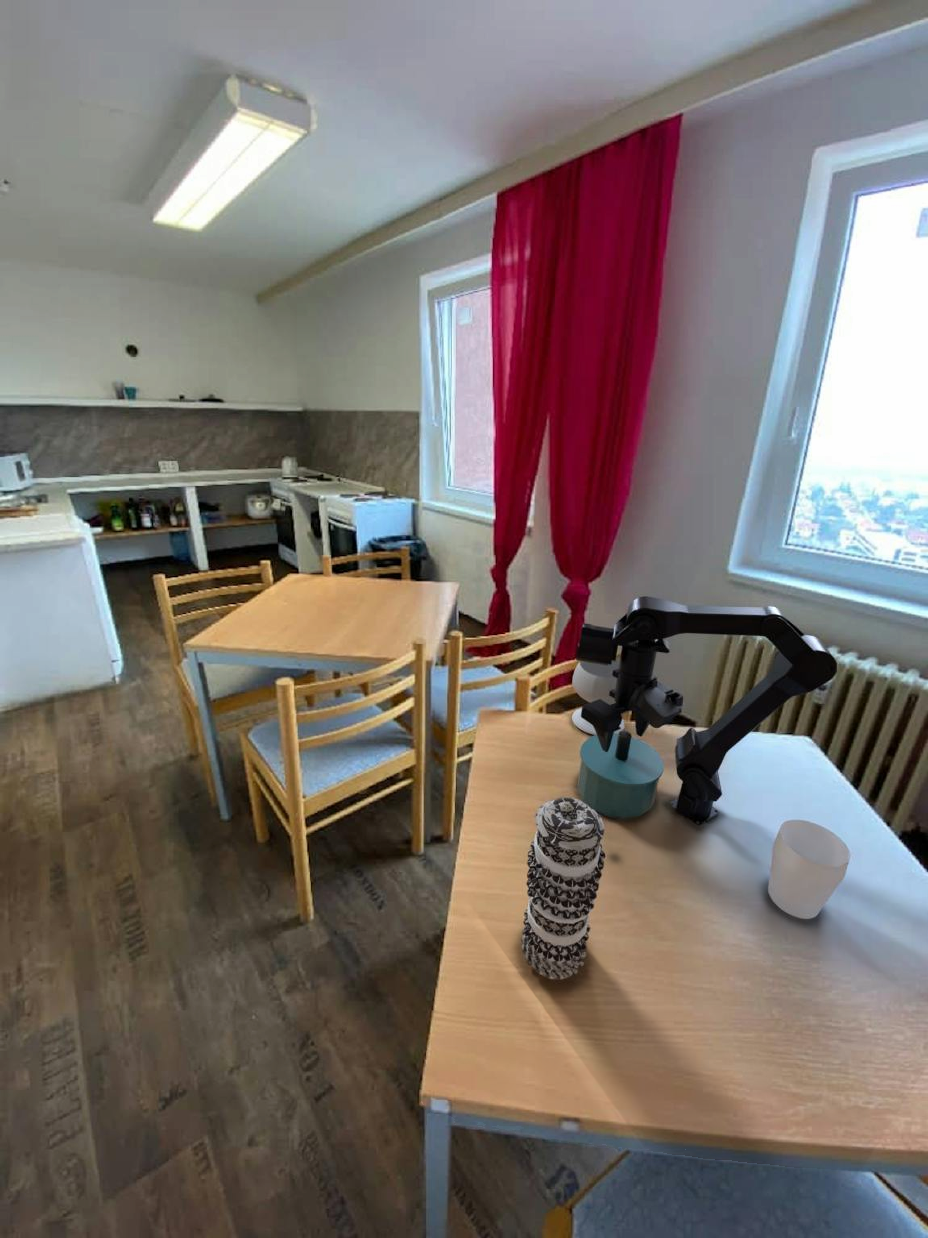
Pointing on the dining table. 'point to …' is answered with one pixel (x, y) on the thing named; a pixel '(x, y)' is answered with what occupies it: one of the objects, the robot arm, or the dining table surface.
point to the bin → (615, 795)
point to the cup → (806, 867)
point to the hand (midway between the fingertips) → (622, 743)
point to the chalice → (594, 688)
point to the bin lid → (623, 760)
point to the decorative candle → (562, 886)
